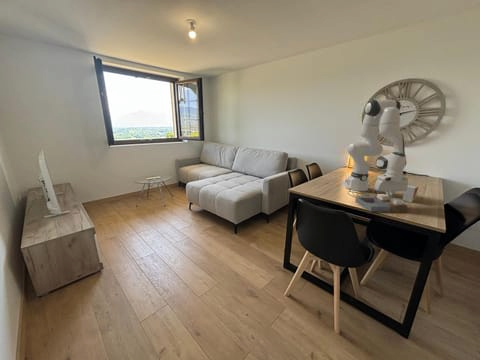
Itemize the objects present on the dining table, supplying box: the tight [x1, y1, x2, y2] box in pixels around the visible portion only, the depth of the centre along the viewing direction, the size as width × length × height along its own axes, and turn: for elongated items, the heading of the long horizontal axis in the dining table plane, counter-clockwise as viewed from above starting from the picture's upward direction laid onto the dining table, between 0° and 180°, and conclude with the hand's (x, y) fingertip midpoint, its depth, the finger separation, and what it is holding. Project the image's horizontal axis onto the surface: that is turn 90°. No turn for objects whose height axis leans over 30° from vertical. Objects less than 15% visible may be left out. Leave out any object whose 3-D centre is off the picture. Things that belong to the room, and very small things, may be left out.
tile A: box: [376, 193, 391, 200], centre depth 133 cm, size 5×5×2 cm
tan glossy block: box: [374, 196, 409, 213], centre depth 130 cm, size 16×10×4 cm, turn 1°
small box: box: [401, 184, 419, 203], centre depth 142 cm, size 8×6×10 cm
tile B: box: [390, 197, 405, 205], centre depth 126 cm, size 5×5×2 cm
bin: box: [354, 196, 391, 213], centre depth 130 cm, size 16×12×4 cm
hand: (388, 197), depth 133 cm, fingers closed
